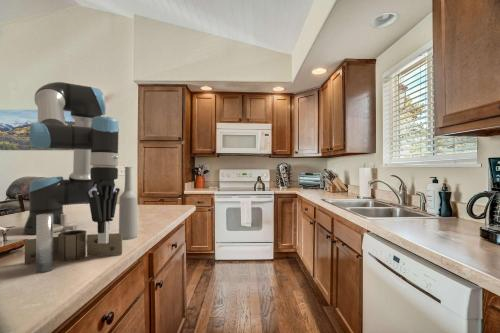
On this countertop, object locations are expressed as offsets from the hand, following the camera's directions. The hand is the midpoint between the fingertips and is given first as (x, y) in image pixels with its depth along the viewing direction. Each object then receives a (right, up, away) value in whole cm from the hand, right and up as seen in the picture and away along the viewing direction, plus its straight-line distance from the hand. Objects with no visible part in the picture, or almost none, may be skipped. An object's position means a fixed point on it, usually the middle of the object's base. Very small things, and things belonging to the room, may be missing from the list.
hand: (103, 242), depth 81 cm
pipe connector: (-25, -5, +18) cm, 31 cm away
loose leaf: (0, -4, +1) cm, 4 cm away
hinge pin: (-10, -4, -11) cm, 15 cm away
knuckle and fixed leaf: (-13, -4, -2) cm, 14 cm away
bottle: (-3, -5, +23) cm, 24 cm away
